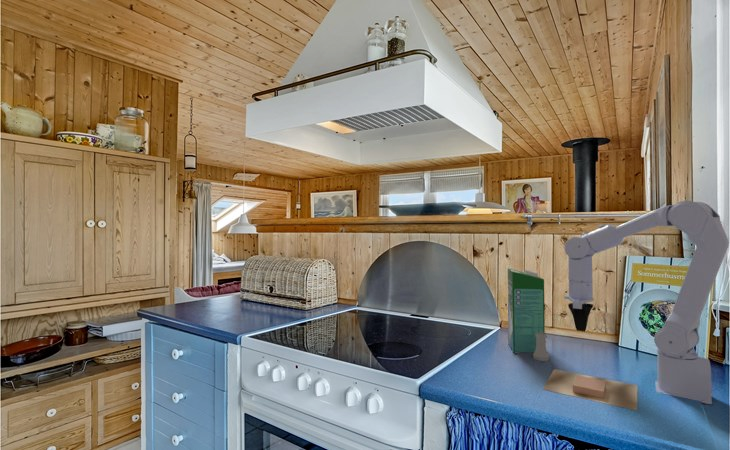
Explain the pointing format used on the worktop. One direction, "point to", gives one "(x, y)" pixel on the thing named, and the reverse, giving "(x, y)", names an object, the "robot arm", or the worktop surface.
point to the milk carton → (525, 309)
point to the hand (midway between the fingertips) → (581, 330)
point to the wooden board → (613, 395)
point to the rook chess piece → (541, 347)
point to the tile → (589, 386)
